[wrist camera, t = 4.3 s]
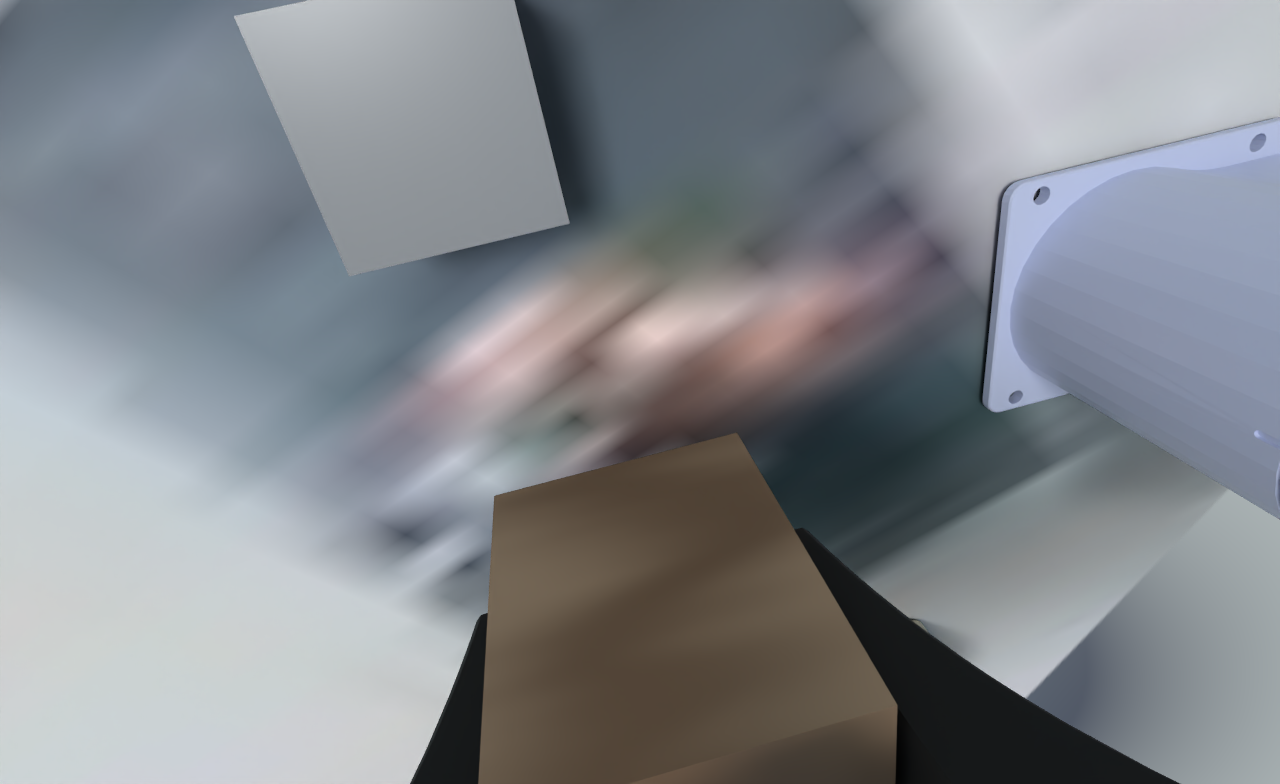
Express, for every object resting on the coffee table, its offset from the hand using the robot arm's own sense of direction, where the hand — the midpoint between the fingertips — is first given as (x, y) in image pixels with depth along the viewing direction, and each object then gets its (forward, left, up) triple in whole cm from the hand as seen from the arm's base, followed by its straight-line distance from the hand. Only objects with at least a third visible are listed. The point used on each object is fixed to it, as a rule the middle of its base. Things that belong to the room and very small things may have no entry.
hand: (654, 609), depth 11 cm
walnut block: (0, 0, -1) cm, 1 cm away
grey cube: (+2, -8, -10) cm, 13 cm away
